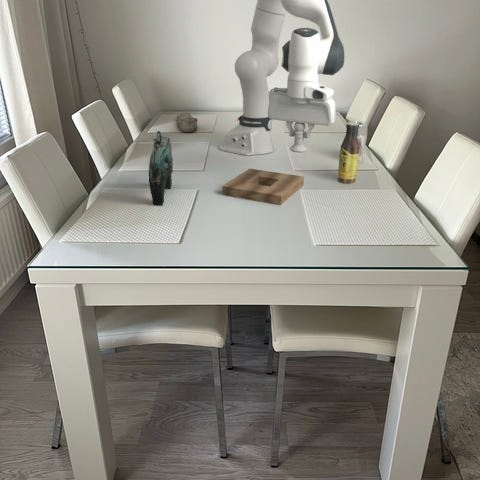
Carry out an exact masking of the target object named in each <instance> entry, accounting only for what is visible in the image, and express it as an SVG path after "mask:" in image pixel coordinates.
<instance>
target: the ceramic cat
mask: <svg viewBox="0 0 480 480" xmlns="http://www.w3.org/2000/svg"><path fill="white" fill-rule="evenodd" d="M152 148H153V150H152V152H151V154H150V158H149V164H148V183H149V189H150V195H151V198H152V204H153V206H163V205H164V204H163V203H165V192H166V190H171V187H172V186H173V185H172V184H173V179H172V175H173V174H172V173H173V172H174V170H173V168H174V167H173V165H174V163H173V160H174V159H173V155H172V145H171V140H170V137H168V136H167V137H166V136H162V132H161V131H160V130H157V132H156V137H155V138H153V147H152Z"/></svg>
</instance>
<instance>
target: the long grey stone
mask: <svg viewBox="0 0 480 480" xmlns="http://www.w3.org/2000/svg"><path fill="white" fill-rule="evenodd" d="M175 121H176V125H177V128H179V130H180V131H181V132H184V133H191V132H192V133H193V132H195V131H197V130H198V129H197V128H198V118H196V117H194V116H192V115H191V113H188V112H183V113H179V114H177V115H176V119H175Z"/></svg>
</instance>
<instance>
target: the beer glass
mask: <svg viewBox="0 0 480 480" xmlns="http://www.w3.org/2000/svg"><path fill="white" fill-rule="evenodd" d="M353 122H356V123H359V129H358V134H357V135H358V136H357V139H358V140H359V143H360V148H359V159H358V166H361V165H363V164H364V159H363V158H364V157H363V155H364V151H365V147H366V143H367V139H368V127H369V126H368V125H369V124H368V122H366V121H359V120H358V121H356V120H355V121H353Z"/></svg>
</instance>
